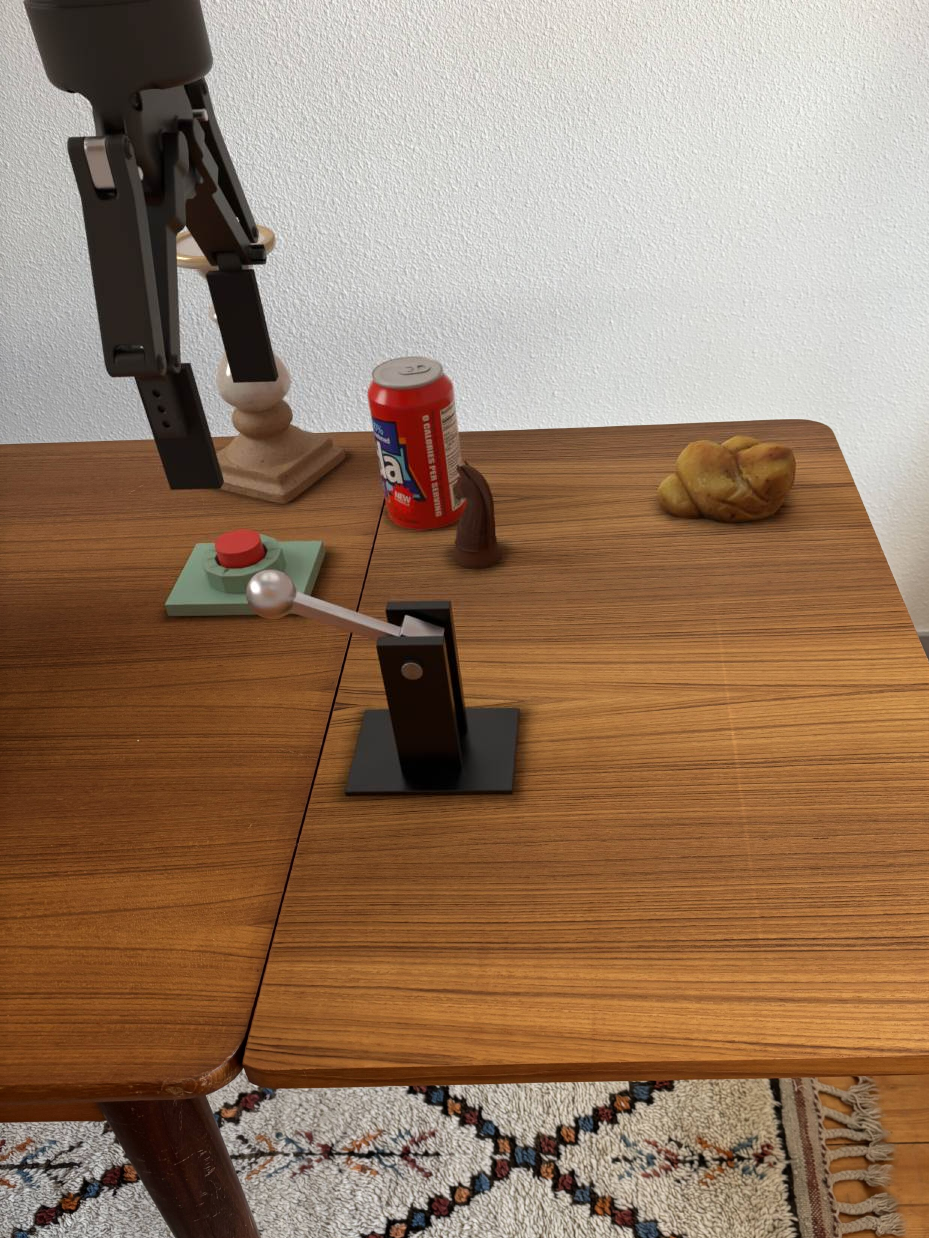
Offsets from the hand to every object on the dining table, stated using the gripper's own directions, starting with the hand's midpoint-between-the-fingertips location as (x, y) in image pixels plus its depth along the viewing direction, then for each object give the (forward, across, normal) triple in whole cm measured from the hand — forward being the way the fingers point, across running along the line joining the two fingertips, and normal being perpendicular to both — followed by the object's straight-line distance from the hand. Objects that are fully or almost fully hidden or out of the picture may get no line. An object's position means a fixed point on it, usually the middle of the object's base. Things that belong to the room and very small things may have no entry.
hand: (229, 429), depth 61 cm
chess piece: (+27, +26, -10) cm, 39 cm away
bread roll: (+27, +35, -34) cm, 56 cm away
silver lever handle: (+15, 0, -4) cm, 15 cm away
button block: (+27, +23, +10) cm, 36 cm away
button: (+23, +23, +11) cm, 34 cm away
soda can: (+27, +35, -4) cm, 44 cm away
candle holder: (+27, +44, +13) cm, 53 cm away
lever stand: (+27, 0, -9) cm, 28 cm away
